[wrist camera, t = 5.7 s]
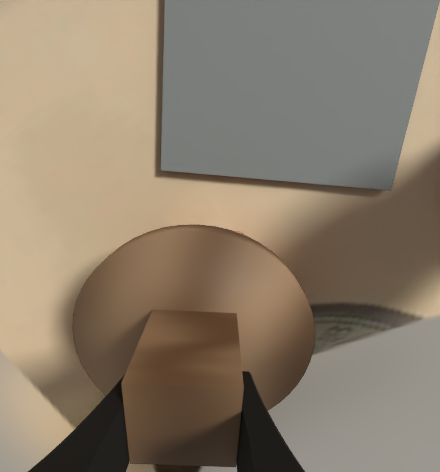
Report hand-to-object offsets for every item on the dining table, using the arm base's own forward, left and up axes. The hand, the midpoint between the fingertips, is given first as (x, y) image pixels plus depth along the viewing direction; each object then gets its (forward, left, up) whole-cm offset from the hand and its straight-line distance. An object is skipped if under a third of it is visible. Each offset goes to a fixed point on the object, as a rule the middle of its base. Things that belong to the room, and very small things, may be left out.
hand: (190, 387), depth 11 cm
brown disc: (0, -1, -3) cm, 3 cm away
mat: (-4, -16, -7) cm, 18 cm away
